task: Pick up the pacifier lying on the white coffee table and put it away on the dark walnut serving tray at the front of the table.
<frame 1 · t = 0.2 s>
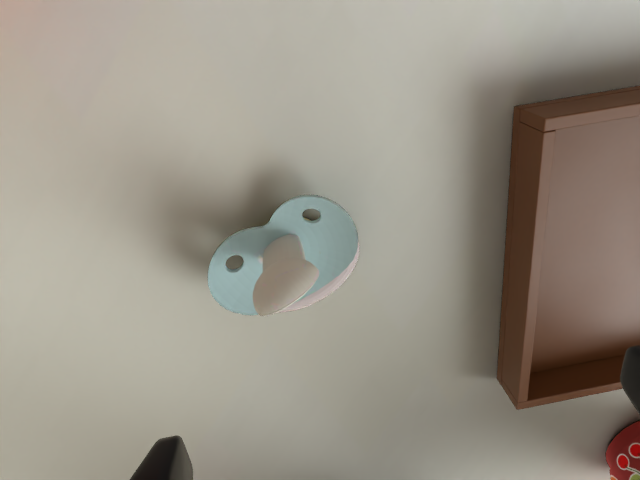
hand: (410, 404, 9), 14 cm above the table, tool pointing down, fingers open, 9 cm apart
tray: (617, 242, 26), on the table
smoothie: (638, 440, 35), on the table
pacifier: (290, 251, 24), on the table
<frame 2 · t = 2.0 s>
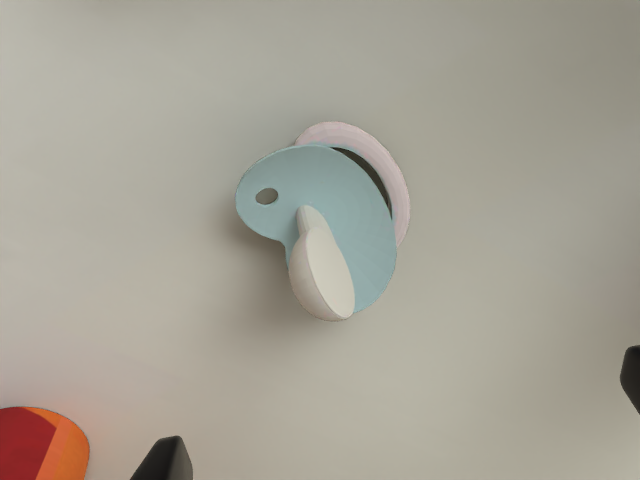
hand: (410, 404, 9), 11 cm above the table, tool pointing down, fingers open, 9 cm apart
paper cup: (31, 446, 23), on the table
pacifier: (330, 201, 19), on the table
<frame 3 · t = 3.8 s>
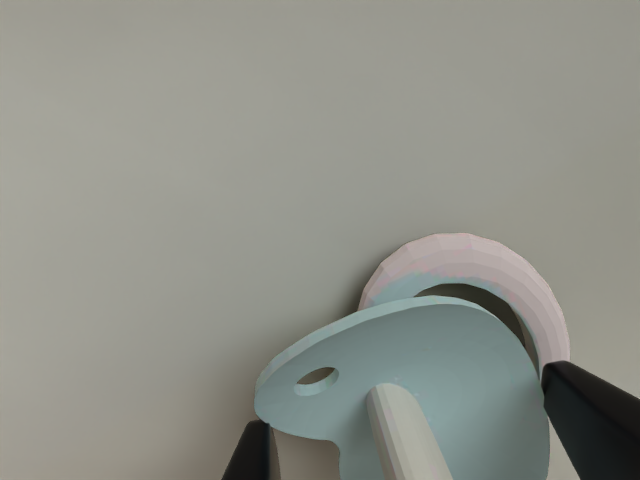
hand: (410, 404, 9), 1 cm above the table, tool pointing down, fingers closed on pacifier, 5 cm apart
pacifier: (421, 354, 11), on the table, touching gripper
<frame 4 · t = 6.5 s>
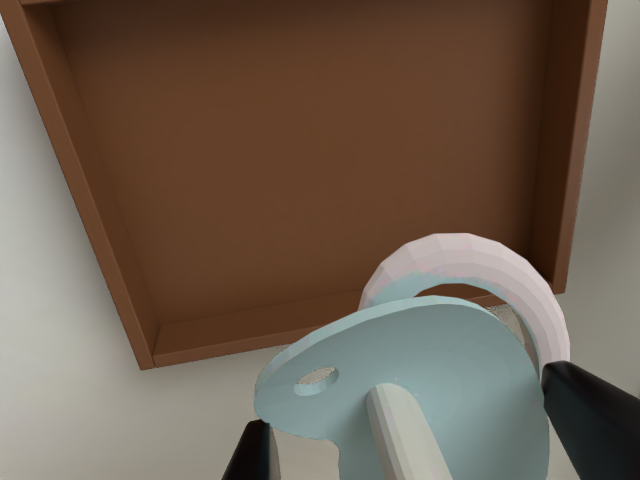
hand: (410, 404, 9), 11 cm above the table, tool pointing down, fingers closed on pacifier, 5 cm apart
tray: (331, 152, 18), on the table
pacifier: (421, 354, 11), point 9 cm above the table, touching gripper
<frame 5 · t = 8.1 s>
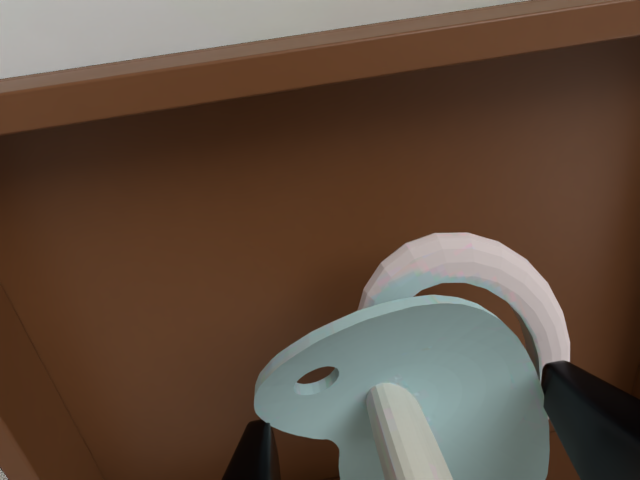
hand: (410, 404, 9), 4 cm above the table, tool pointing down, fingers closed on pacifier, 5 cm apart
tray: (364, 298, 12), on the table
pacifier: (421, 354, 11), point 2 cm above the table, touching gripper
when the fingers open (2 cm above the table, at t = 9.2 s): pacifier stays where it is, resting on tray.
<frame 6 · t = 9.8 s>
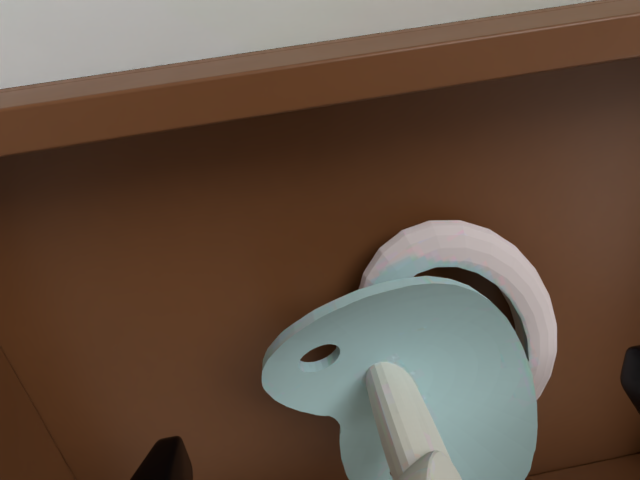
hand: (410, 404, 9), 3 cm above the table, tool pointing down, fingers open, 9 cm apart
tray: (380, 327, 12), on the table
pacifier: (417, 337, 11), resting on tray
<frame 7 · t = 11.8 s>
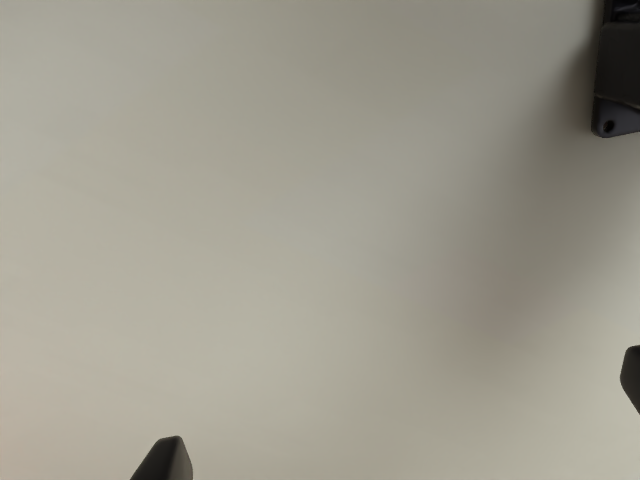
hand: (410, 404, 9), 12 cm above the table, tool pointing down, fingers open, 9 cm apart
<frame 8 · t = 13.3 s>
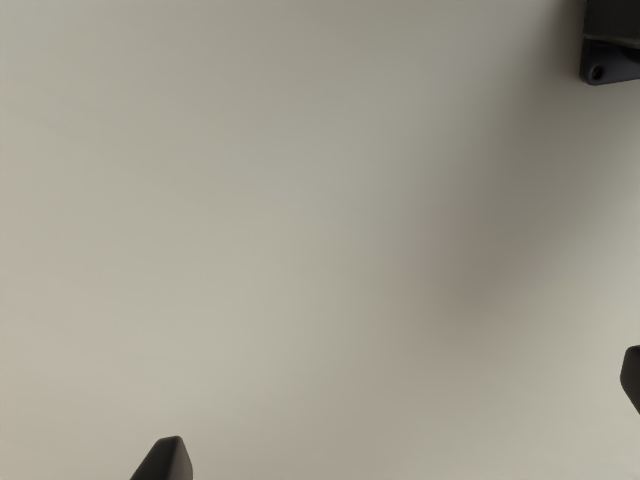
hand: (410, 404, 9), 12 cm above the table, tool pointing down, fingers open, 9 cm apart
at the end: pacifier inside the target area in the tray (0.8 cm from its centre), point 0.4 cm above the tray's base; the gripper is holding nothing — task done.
